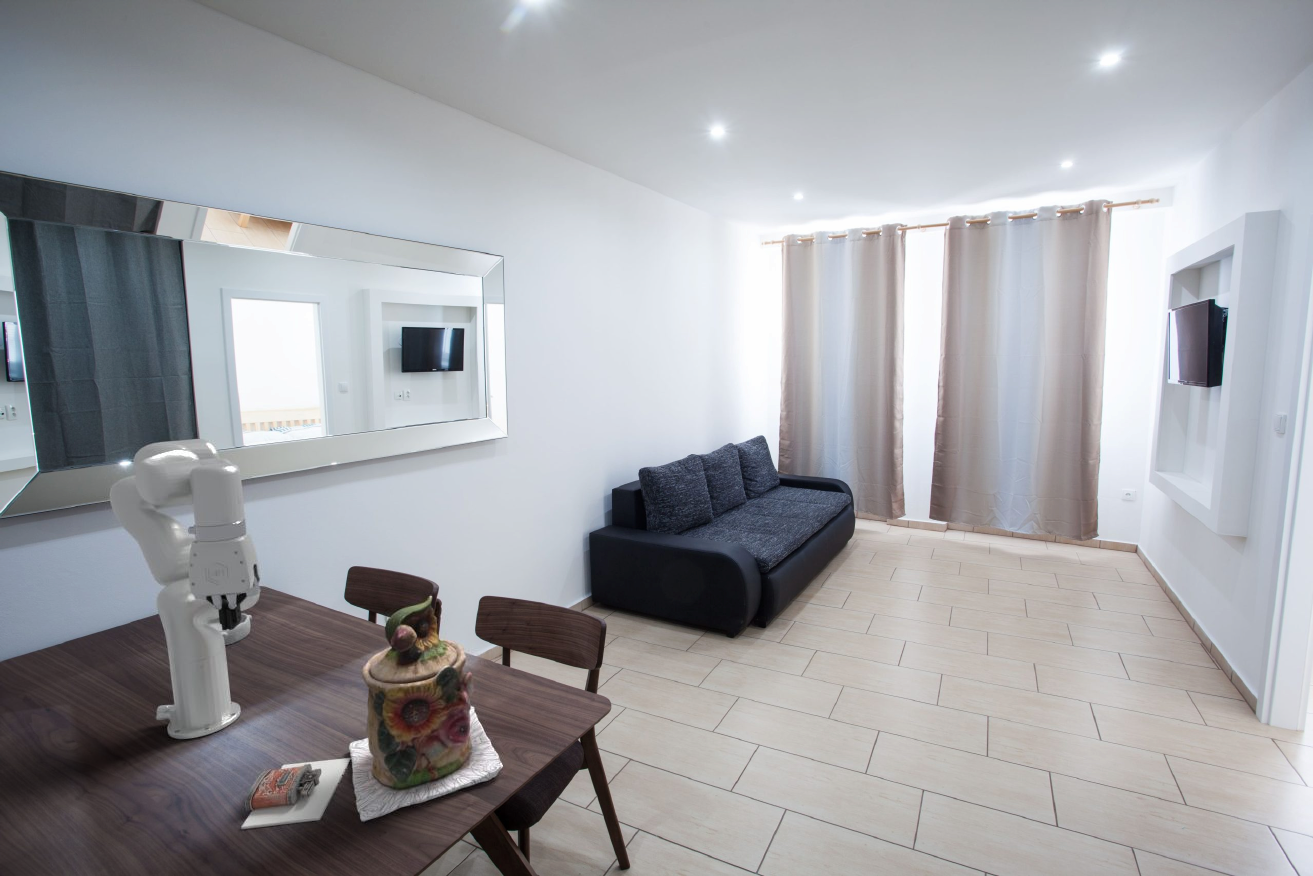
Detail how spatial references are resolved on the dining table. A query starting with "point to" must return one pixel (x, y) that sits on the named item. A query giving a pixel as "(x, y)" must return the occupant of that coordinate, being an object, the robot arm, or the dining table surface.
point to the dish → (237, 632)
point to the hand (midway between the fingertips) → (231, 626)
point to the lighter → (282, 786)
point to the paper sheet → (303, 807)
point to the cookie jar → (418, 720)
